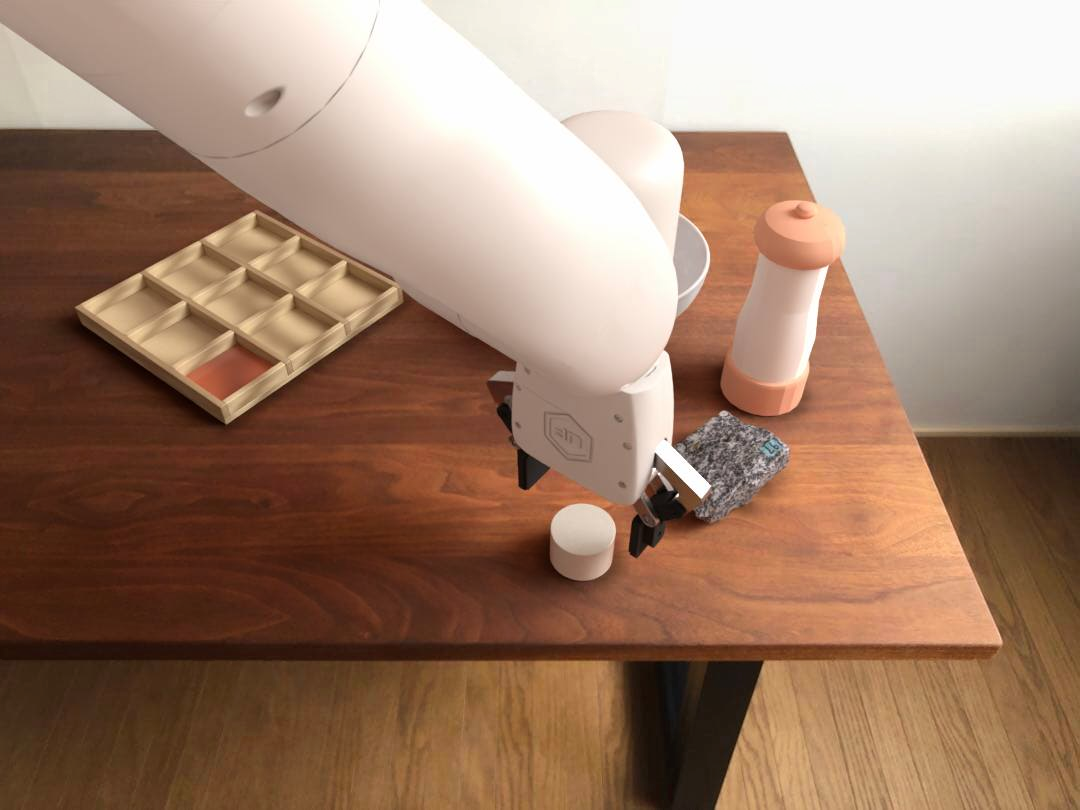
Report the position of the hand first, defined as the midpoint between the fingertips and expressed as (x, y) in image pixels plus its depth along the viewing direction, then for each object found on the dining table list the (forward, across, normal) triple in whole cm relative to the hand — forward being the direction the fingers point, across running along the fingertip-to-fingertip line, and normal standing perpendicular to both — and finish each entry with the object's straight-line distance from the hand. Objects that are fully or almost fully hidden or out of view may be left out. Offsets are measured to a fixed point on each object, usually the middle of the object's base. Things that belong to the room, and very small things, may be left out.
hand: (588, 509), depth 64 cm
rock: (+5, +5, +12) cm, 15 cm away
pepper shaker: (+6, +2, +24) cm, 25 cm away
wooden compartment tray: (+5, -43, +2) cm, 43 cm away
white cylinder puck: (+5, 0, 0) cm, 5 cm away
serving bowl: (+6, -17, +26) cm, 31 cm away
